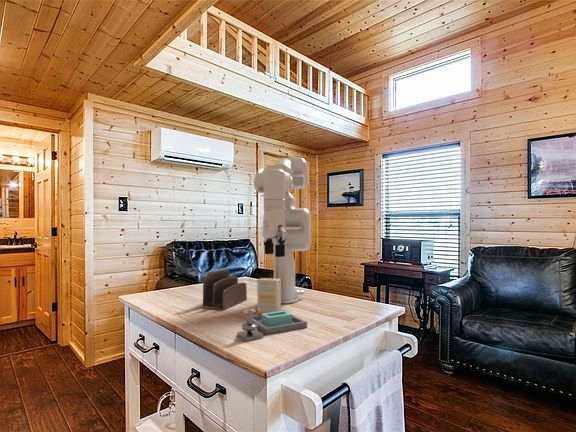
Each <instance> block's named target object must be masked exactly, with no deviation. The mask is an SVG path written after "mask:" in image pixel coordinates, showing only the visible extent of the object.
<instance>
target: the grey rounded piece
mask: <svg viewBox="0 0 576 432" xmlns="http://www.w3.org/2000/svg"><path fill="white" fill-rule="evenodd" d="M254 313H256V309H255V308H248V309H244V310H242V314H246V322H245V323H242V324H241V329H242V330H241V331H237V332H236V336H237V337H238V338H240V339H241V340H242V341H243V342H249V341H254V340H259V339H264V333H263V332H261V331H260V330H258V324H257V323H253V316H254Z"/></svg>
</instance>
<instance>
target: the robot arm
mask: <svg viewBox="0 0 576 432" xmlns="http://www.w3.org/2000/svg"><path fill="white" fill-rule="evenodd" d="M254 175H255V176H254V179H253V187H254V189H255V191H256V192H258V193H260V194H263V210H264V211H263V216H262V217H263V218H262V237H263V238H264V254H265V255H273V278H277V279H281V304H294V303H297V302H298V301H299V297H298V296H302V295H305V290H304V289H301V290H299V289H296V260H295V258H294V256H293V255H292V254H291V253H290V252H305V251H309V250H310V249H311V246H312V216H311V211H310V210H309V209H307V208H303V207H296V199H295V197H294V196H293V195H292V194H291V192H290V191H292V190H304V189H307V188H308V186H309V183H310V180H309V179H310V177H309V176H310V175H309V166H308V163H307V161H306V160H305V158H302V157H282V158H278V160H276V161H275V163H274V164H273V165H269V166H266V167H263V168H260V169H258V170H257V172H256V173H255V174H254Z"/></svg>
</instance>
